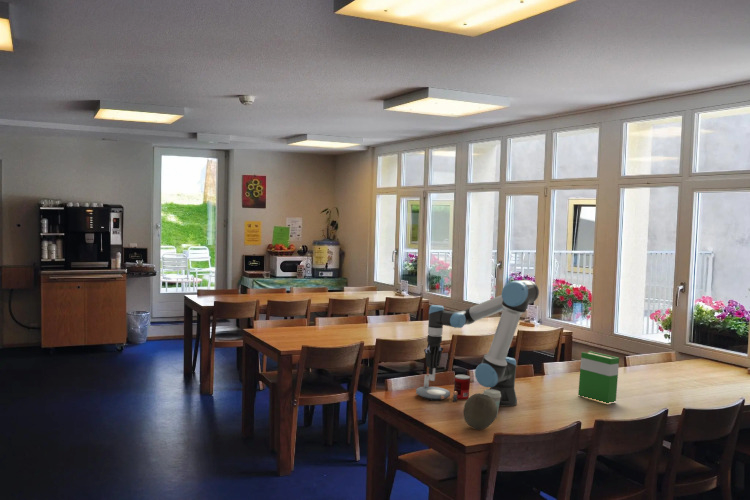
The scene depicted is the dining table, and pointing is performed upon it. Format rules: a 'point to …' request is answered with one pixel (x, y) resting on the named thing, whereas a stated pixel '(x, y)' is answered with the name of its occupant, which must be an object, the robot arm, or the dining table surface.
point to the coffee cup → (493, 396)
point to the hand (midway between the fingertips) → (431, 380)
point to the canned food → (462, 386)
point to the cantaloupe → (480, 411)
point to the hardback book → (598, 376)
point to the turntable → (432, 391)
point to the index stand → (441, 399)
